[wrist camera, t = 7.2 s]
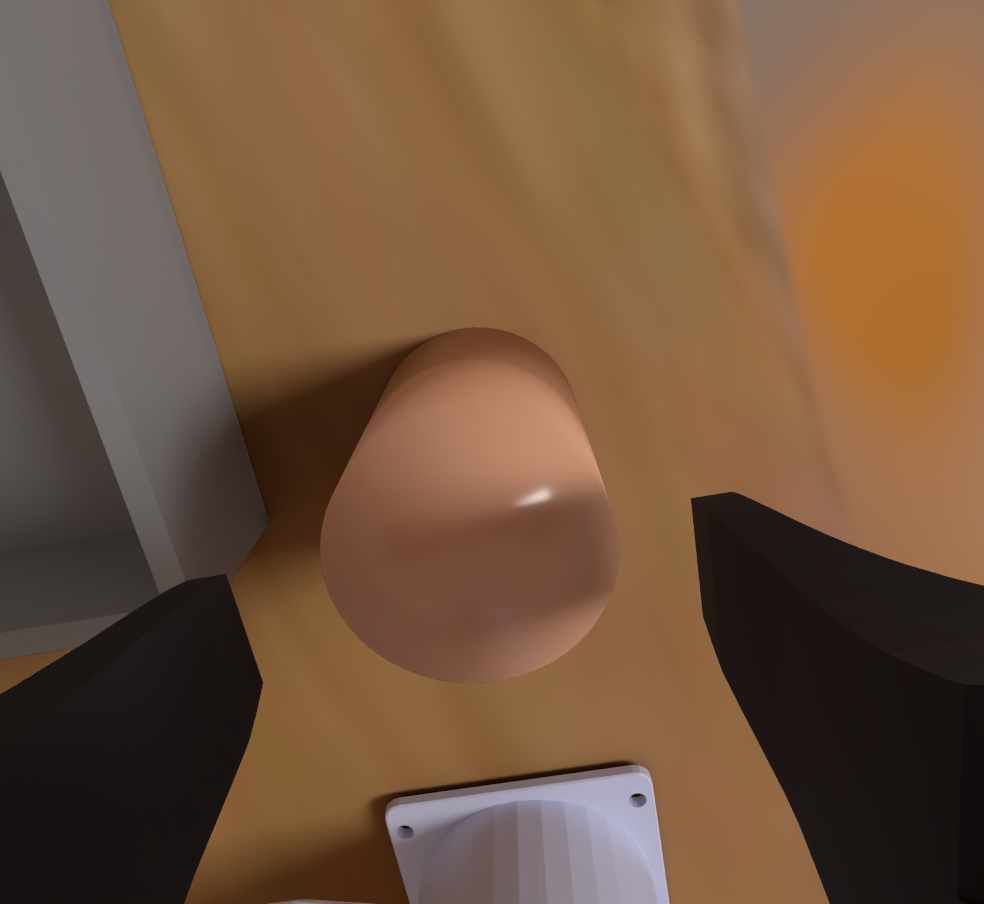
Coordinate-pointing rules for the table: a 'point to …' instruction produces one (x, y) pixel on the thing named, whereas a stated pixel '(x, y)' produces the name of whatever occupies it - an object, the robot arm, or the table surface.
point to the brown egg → (472, 515)
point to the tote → (100, 351)
